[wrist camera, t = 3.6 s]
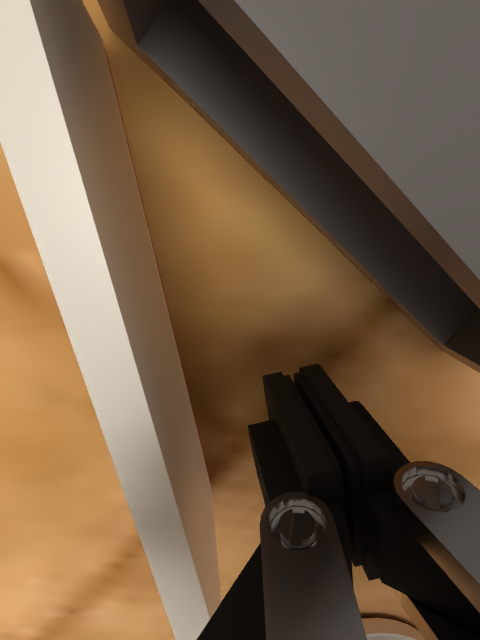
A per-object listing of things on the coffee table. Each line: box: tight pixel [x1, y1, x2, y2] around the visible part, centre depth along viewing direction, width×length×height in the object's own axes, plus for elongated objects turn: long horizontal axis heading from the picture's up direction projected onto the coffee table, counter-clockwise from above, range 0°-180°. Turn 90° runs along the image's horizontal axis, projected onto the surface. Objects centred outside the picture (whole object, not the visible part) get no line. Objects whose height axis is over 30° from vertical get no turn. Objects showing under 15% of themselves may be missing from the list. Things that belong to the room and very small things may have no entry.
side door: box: [0, 0, 221, 640], centre depth 11 cm, size 1×18×7 cm, turn 10°
